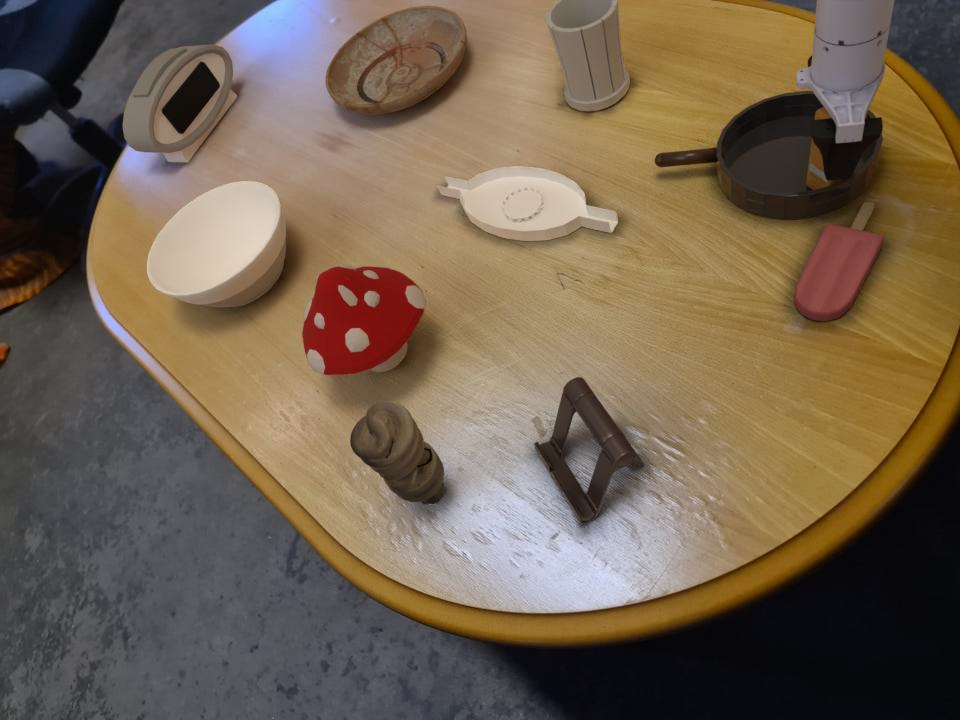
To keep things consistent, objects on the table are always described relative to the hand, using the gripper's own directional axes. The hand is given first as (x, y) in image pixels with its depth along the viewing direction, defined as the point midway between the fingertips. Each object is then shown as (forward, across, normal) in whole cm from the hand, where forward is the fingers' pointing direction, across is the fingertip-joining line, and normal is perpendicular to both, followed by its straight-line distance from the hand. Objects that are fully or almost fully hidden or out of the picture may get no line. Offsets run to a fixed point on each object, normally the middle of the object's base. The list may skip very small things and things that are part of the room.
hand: (835, 149), depth 69 cm
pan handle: (+4, -4, -14) cm, 15 cm away
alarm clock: (+6, -26, -97) cm, 101 cm away
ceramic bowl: (+6, -31, -59) cm, 67 cm away
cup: (+6, -22, -28) cm, 36 cm away
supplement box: (+5, 0, 0) cm, 5 cm away
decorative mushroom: (+6, +21, -46) cm, 51 cm away
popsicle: (+6, +10, 0) cm, 11 cm away
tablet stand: (+6, +33, -21) cm, 40 cm away
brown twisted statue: (+6, +37, -36) cm, 52 cm away
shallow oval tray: (+6, -1, -34) cm, 35 cm away
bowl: (+6, +8, -72) cm, 73 cm away
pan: (+5, -4, -3) cm, 8 cm away
